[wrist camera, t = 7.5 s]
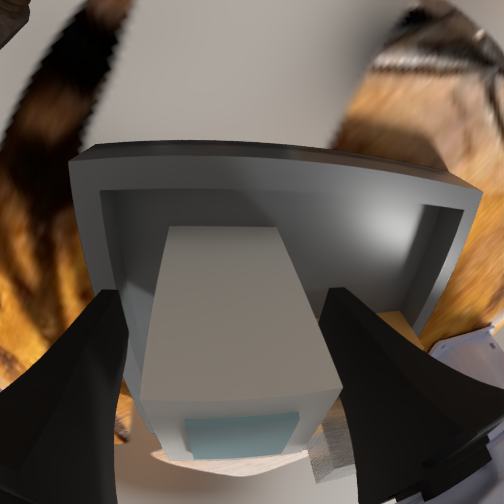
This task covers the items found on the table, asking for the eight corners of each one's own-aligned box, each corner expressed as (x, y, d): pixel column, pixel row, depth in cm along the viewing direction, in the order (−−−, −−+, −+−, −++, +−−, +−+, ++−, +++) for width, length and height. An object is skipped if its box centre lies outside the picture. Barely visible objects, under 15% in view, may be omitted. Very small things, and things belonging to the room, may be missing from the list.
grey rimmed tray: (450, 172, 12) (505, 206, 9) (354, 389, 21) (370, 429, 18) (95, 144, 9) (45, 177, 6) (151, 404, 19) (149, 451, 15)
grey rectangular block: (347, 350, 16) (390, 452, 10) (333, 378, 18) (365, 470, 12) (300, 356, 16) (334, 468, 10) (290, 384, 17) (316, 483, 11)
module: (276, 227, 11) (346, 395, 5) (265, 306, 13) (302, 457, 7) (169, 226, 11) (138, 407, 5) (175, 307, 13) (169, 465, 7)
